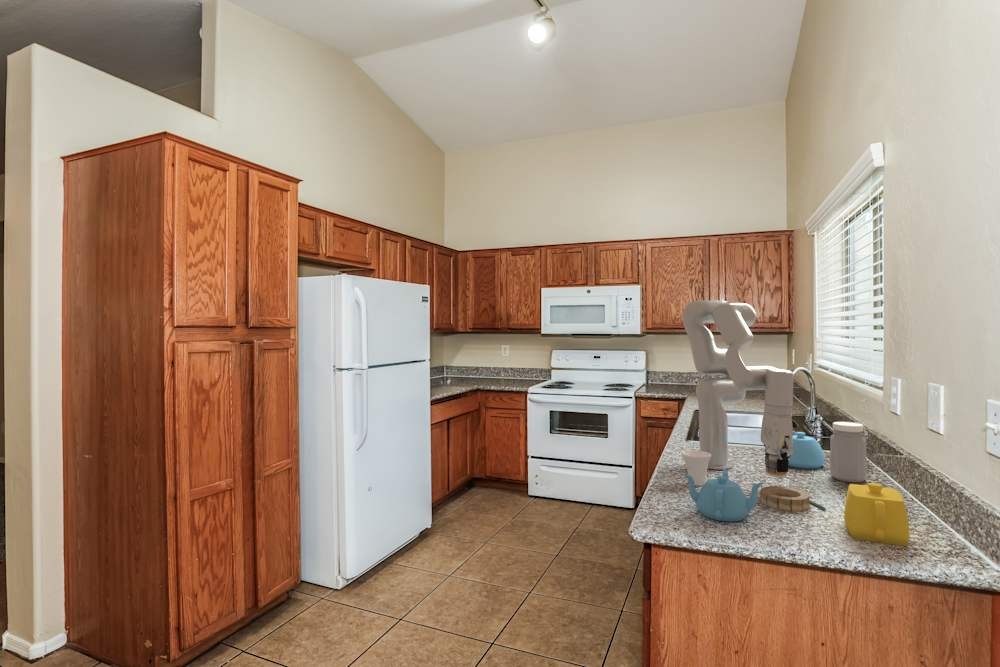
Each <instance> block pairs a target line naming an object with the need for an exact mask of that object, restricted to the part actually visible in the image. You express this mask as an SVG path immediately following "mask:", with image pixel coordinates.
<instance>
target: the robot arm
mask: <svg viewBox="0 0 1000 667" xmlns="http://www.w3.org/2000/svg"><path fill="white" fill-rule="evenodd" d="M756 320H757V315H756V311H755V309H754V308H753V307H752V306H751V304H748V303H746V302H745V303H744V302H737V301H731V300H711V299H710V300H705V299H703V300H695V301H691V302H689V303H688V304H686V306H685V307H684V309H683V313H682V323H683V328H684V330H685V332H686V334H687V337H688V341H689V344H690V349H691V353H692V359H693V363H694V367H695V370H696V372H697V373H698V374H700V375H704V376H713V375H721V377H720V376H719V377H708V378H707V377H706V378H703V379H701V380H700V381H698V383H697V384H696V386H695V395H696V398H697V399H696V400H697V406H698V424H699V425H698V426H699V427H698V428H699V431H698V432H699V434H698V435H699V437H698V438H699V444H698V445H699V450H698V451H704V452H708V453H710V454H711V457H710V460H709V462H708V467H707V470H716V471H718V470H719V471H721V470H722V471H723V470H724V469H726V470H730V469H733V465H734V464H733V462H731V461H729V442H728V441H729V429H728V426H729V424H728V423H729V422H728V414H727V413H726V410H725V409H724V407H723V405H726V404H727V405H731V404H740V403H742V401H744V400H745V398H746V395H747V391H764V407H763V408H764V412H763V416H762V421H761V427H760V428H761V431H760V442H761V443H762V444H763V446H764V454H765V456H764V465H765V466H766V451H767V449H769V447H771V448H773V449H775V450H777V451H778V457H779V459H777V472H787V473H788V472H789V466H788V461H789V459H790V456H791V454H792V453H793V452H794V450H793V448H792V445H793V435H794V430H793V429H794V428H793V419H792V417H793V406H794V405H793V404H794V403H793V402H794V400H793V399H794V376H795V375H794V373H793V372H792V371H791V370H788V369H782V368H781V369H780V368H776V367H774V366H770V365H753V366H750V365H749V366H746V364H745V363H744V362H743V360H742V358H741V353H740V352H741V351H743V350H746V349H747V348H748V347H750V346H751V345H752V344H753V342H754V334H753V333H752V331H751V330H750V328H749V327H751V326H753V325H754V324H755V322H756ZM705 324H715V325H716V327H717V329H718V331H719V333H720V335H721V337H722V338H723V341H724V343H725V345H727V348H718V347H717V344H716V342H715V337H714V335H713V333H712V332H711V330H710V329H709V328H708V327H707V326H706V325H705ZM782 447H785V449H781V448H782ZM781 451H785V452H784V453H783V454H782V452H781Z"/></svg>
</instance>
